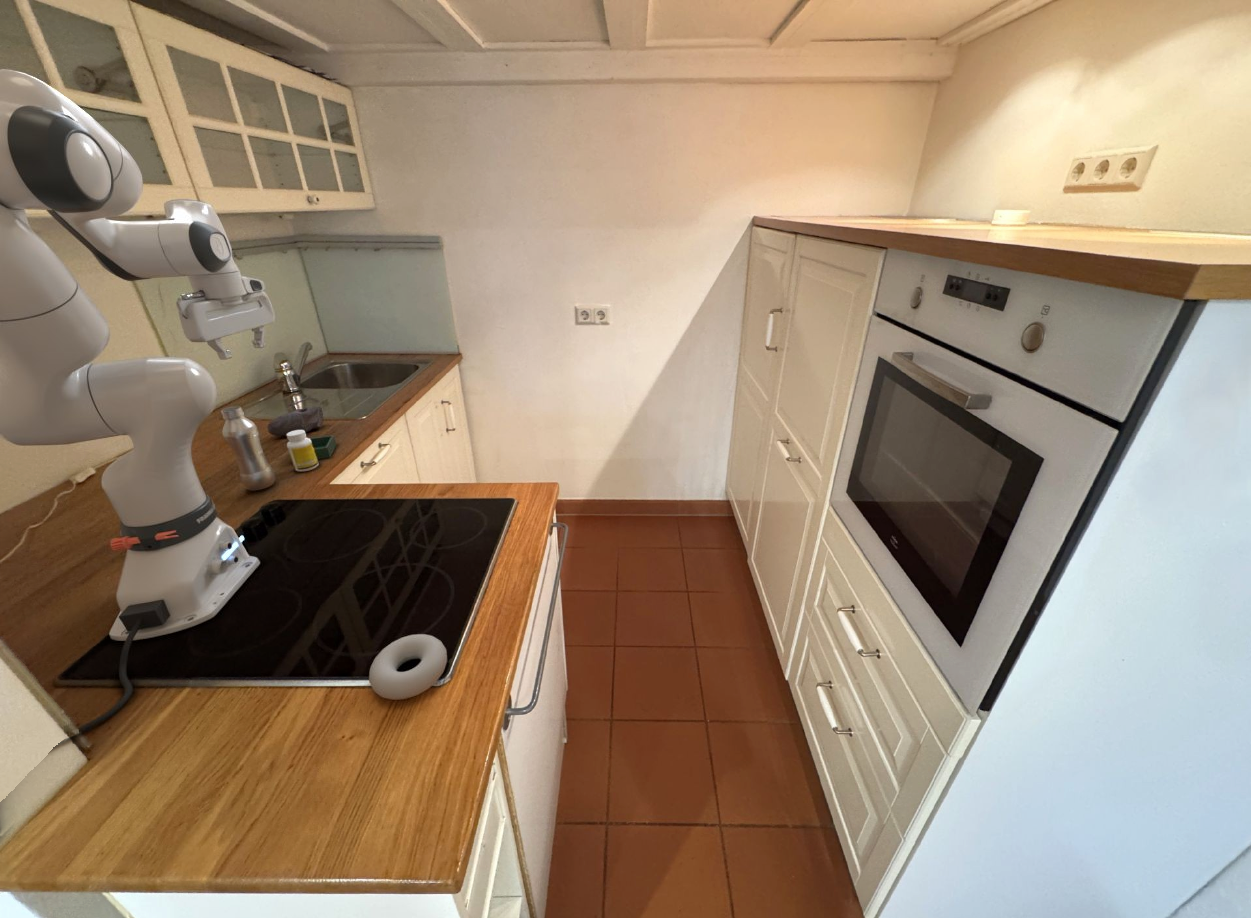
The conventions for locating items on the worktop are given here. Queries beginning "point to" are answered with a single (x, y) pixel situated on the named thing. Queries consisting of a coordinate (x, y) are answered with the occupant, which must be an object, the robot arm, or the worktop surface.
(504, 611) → the worktop surface
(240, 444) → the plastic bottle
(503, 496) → the worktop surface
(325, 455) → the tray
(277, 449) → the worktop surface
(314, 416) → the perforated stone tool
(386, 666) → the donut
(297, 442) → the supplement bottle
